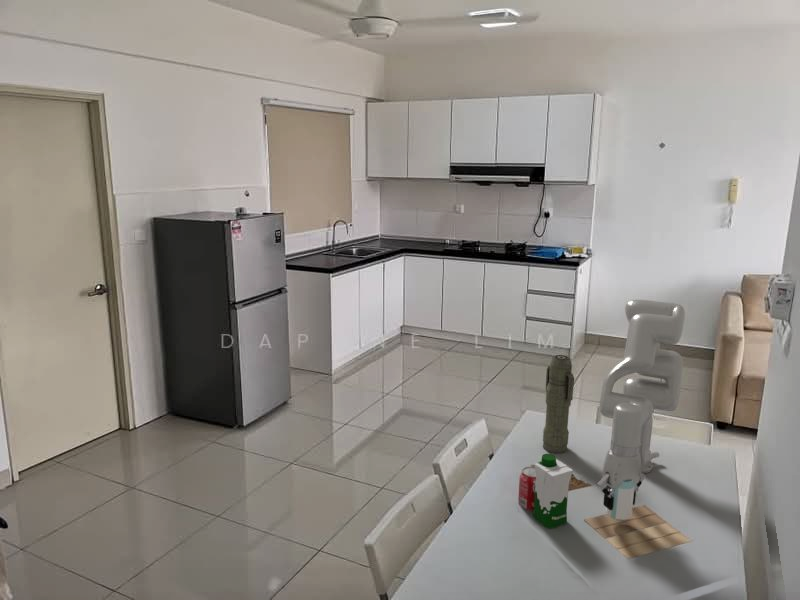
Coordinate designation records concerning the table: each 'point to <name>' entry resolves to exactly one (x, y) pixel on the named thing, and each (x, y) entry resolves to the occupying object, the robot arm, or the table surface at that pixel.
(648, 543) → the oak board
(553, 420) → the thermos
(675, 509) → the table surface
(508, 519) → the table surface
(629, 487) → the can
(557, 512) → the milk carton
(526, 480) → the soda can
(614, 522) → the plank
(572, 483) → the wooden fragment
